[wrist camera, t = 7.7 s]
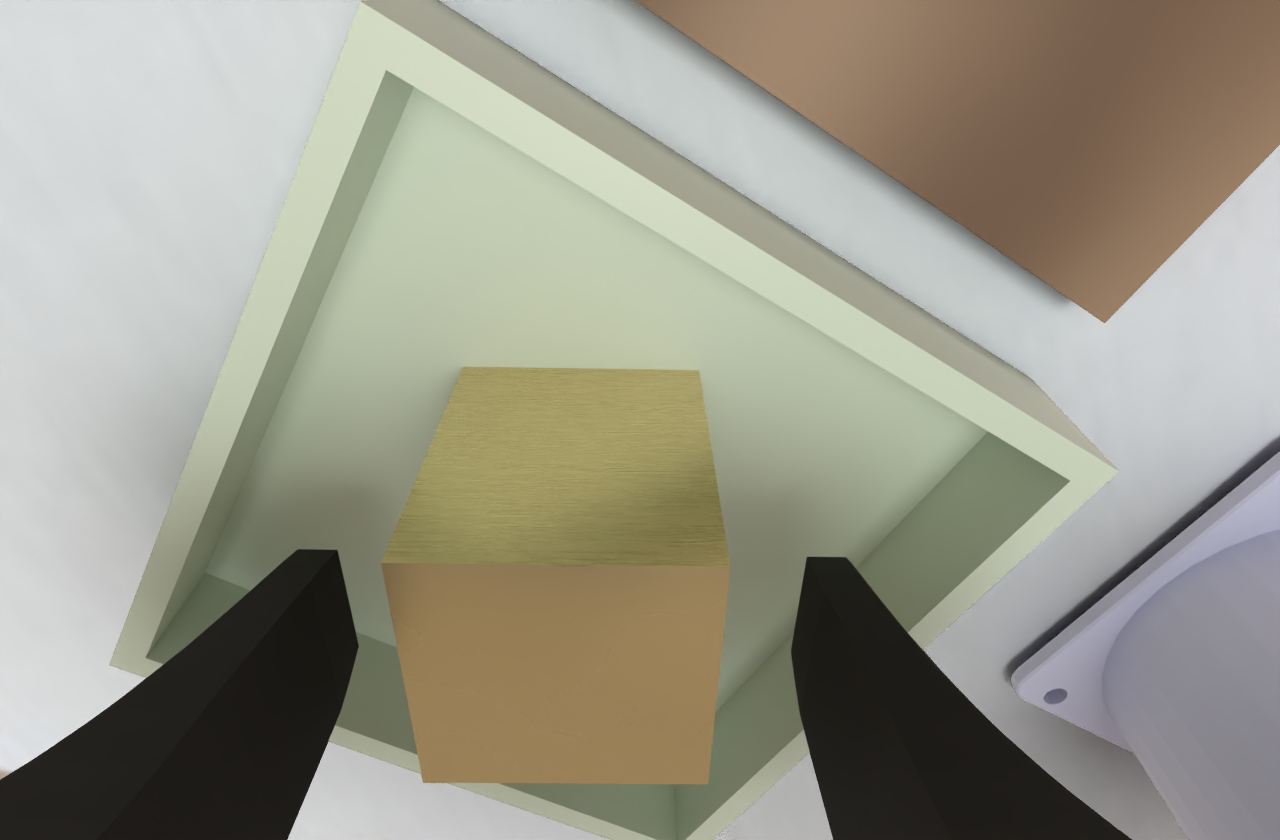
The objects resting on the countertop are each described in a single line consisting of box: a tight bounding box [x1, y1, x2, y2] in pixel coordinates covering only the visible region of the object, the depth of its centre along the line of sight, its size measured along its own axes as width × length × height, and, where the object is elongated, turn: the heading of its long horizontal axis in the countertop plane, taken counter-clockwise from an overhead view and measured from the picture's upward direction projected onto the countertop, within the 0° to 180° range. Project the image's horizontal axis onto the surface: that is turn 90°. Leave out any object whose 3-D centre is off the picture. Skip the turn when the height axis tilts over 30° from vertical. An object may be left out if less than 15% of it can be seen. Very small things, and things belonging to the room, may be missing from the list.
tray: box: [109, 0, 1119, 840], centre depth 14 cm, size 12×12×3 cm
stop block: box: [381, 367, 730, 784], centre depth 12 cm, size 4×4×5 cm
